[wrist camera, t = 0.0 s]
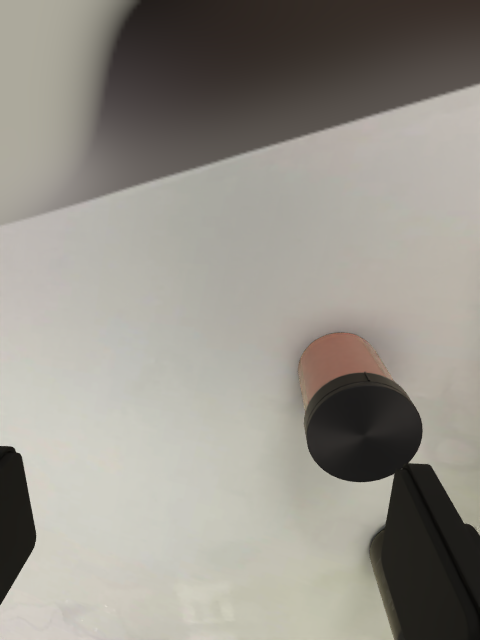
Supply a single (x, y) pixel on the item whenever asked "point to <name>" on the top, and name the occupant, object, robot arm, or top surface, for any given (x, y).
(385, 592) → the supplement bottle
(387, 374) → the cream jar
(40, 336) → the top surface
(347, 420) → the jar lid
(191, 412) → the top surface
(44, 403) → the top surface
